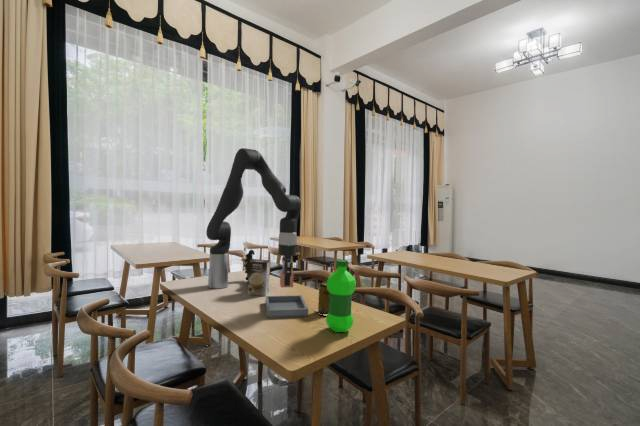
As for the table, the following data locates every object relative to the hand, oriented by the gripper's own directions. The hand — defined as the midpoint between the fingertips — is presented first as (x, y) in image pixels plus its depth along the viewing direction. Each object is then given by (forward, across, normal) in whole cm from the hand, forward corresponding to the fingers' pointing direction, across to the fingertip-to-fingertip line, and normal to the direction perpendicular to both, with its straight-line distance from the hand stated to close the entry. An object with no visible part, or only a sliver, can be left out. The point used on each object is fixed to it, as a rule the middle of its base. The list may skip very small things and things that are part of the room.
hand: (286, 283), depth 129 cm
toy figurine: (+11, -38, -12) cm, 41 cm away
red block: (+1, 0, 0) cm, 1 cm away
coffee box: (+11, -23, -11) cm, 28 cm away
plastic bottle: (+11, +23, +17) cm, 31 cm away
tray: (+11, 0, 0) cm, 11 cm away
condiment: (+11, +6, +16) cm, 20 cm away
